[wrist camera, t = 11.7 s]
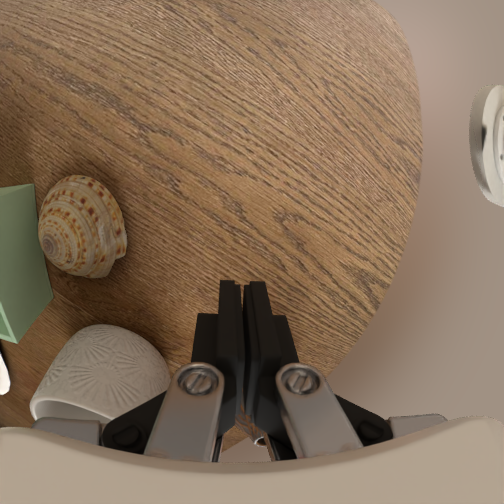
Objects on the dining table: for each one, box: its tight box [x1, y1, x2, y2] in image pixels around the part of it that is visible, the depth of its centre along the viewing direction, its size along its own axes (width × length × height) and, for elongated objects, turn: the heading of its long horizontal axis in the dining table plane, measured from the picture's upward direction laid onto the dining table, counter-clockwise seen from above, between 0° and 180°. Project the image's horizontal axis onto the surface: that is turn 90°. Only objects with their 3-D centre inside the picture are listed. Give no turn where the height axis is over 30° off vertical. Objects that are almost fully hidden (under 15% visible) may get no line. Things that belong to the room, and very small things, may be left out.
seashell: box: [38, 175, 127, 278], centre depth 18 cm, size 8×6×8 cm
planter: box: [30, 324, 171, 423], centre depth 20 cm, size 12×12×11 cm
